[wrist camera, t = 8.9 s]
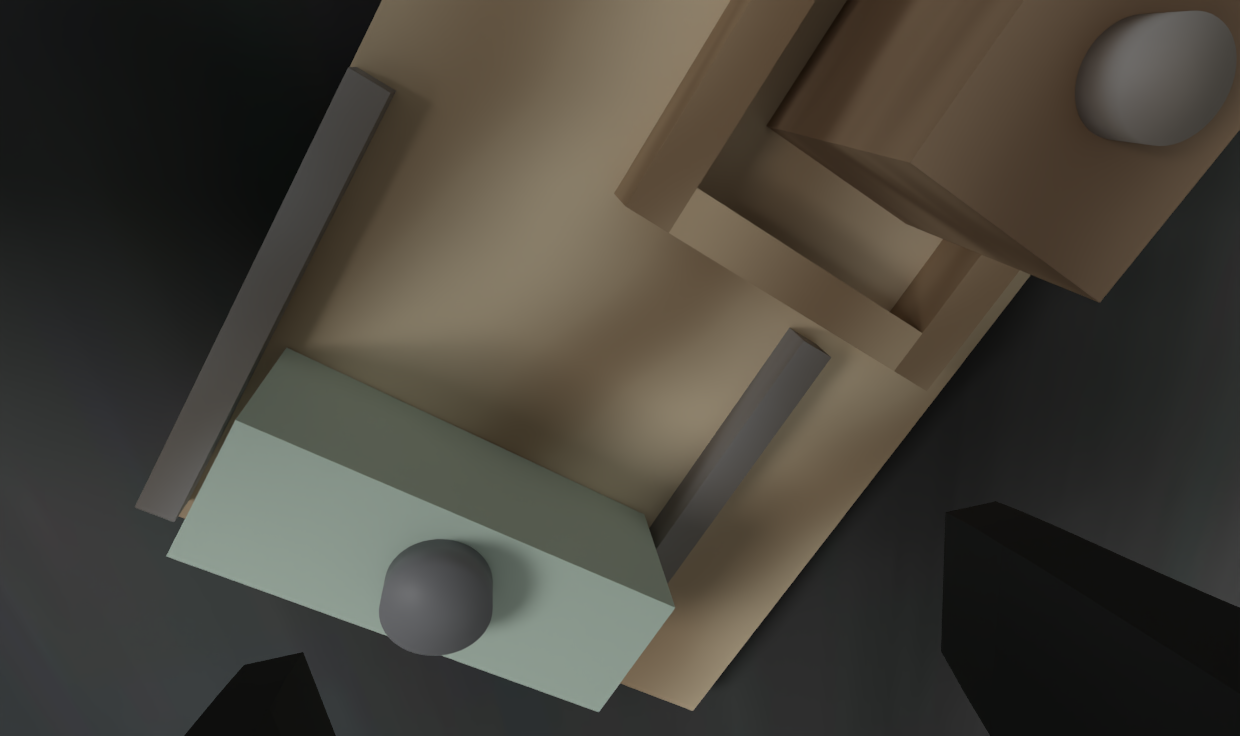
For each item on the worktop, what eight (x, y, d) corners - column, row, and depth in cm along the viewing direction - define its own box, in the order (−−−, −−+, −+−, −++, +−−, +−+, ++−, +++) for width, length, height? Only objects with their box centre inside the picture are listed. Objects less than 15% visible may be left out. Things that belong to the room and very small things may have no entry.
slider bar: (228, 460, 17) (148, 584, 13) (286, 347, 16) (219, 441, 12) (581, 605, 20) (603, 742, 16) (644, 514, 19) (683, 634, 15)
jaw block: (765, 126, 16) (941, 170, 10) (916, -109, 15) (1227, -228, 9) (905, 224, 17) (1140, 319, 11) (1054, 16, 16) (1413, -10, 10)
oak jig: (156, 478, 18) (108, 540, 16) (676, -585, 13) (717, -730, 10) (684, 683, 23) (706, 755, 20) (1223, -23, 17) (1335, -35, 15)
